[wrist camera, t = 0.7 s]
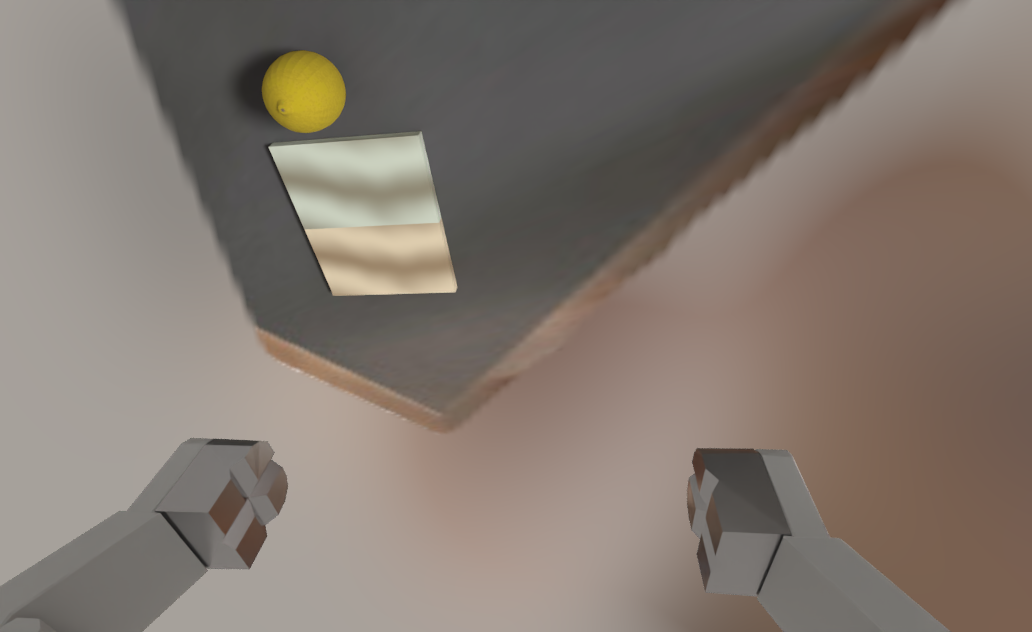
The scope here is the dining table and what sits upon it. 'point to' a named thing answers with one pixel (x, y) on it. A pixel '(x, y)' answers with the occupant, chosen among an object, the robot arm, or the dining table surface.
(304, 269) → the dining table surface
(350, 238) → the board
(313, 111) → the lemon
